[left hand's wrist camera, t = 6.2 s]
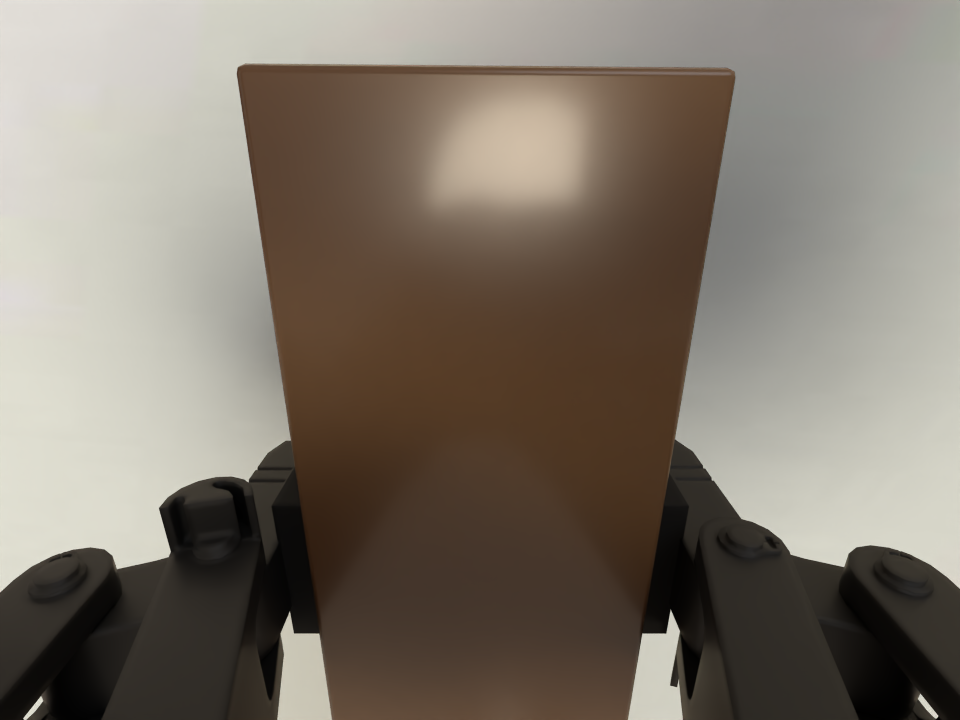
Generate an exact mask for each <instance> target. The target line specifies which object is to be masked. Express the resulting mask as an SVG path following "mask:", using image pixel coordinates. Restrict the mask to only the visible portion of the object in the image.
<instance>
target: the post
mask: <svg viewBox="0 0 960 720" xmlns="http://www.w3.org/2000/svg"><path fill="white" fill-rule="evenodd" d="M237 78H238V85H239V91H240V98H241V105H242V112H243V119H244V125H245V132H246V139H247V146H248V152H249V159H250V166H251V173H252V179H253V186H254V193H255V200H256V207H257V213H258V220H259V227H260V234H261V240H262V247H263V254H264V261H265V268H266V274H267V281H268V288H269V295H270V301H271V308H272V315H273V322H274V329H275V335H276V342H277V349H278V356H279V362H280V369H281V376H282V383H283V389H284V396H285V403H286V410H287V417H288V423H289V430H290V437H291V444H292V450H293V457H294V464H295V471H296V478H297V484H298V491H299V498H300V505H301V511H302V518H303V525H304V532H305V539H306V545H307V552H308V559H309V566H310V572H311V579H312V586H313V593H314V599H315V606H316V613H317V620H318V627H319V633H320V640H321V647H322V654H323V660H324V667H325V674H326V681H327V688H328V694H329V701H330V708H331V715H332V720H628V715H629V709H630V703H631V697H632V691H633V685H634V679H635V673H636V667H637V662H638V656H639V650H640V644H641V638H642V632H643V626H644V620H645V614H646V608H647V602H648V596H649V590H650V584H651V578H652V572H653V566H654V560H655V554H656V548H657V542H658V536H659V530H660V524H661V518H662V512H663V506H664V500H665V494H666V488H667V482H668V477H669V471H670V465H671V459H672V453H673V447H674V441H675V435H676V429H677V423H678V417H679V411H680V405H681V399H682V393H683V387H684V381H685V375H686V369H687V363H688V357H689V351H690V345H691V339H692V333H693V327H694V321H695V315H696V309H697V303H698V297H699V292H700V286H701V280H702V274H703V268H704V262H705V256H706V250H707V244H708V238H709V232H710V226H711V220H712V214H713V208H714V202H715V196H716V190H717V184H718V178H719V172H720V166H721V160H722V154H723V148H724V142H725V136H726V130H727V124H728V118H729V113H730V107H731V101H732V95H733V89H734V83H735V72H734V71H732V70H730V69H728V68H692V67H576V66H461V65H345V64H244V65H242V66H239V67H238V70H237Z"/></svg>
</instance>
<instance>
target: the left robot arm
mask: <svg viewBox="0 0 960 720" xmlns="http://www.w3.org/2000/svg"><path fill="white" fill-rule="evenodd" d="M159 510H160V514H161V517H162V521H163V525H164V528H165V532H166V535H167V539H168V543H169V546H170V550H171V553H170V555H169V557H168V558H164V559H161V560H157V561H153V562H148V563H144V564H139V565H135V566H130V567H126V568H121V569H117V568H116V565H115V562H114V559H113V556H112V555H111V554H109V553H108V552H107V551H106V550H104V549H97V548H84V549H76V550H71V551H68V552H63V553H61V554H57V555H55V556H52V557H50V558H48V559H46V560H44V561H42V562H40V563H38V564H36V565H34V566H32V567H31V568H29V569H28V570H27V571H25V572H24V573H23V574H21V575H20V576H19V577H17V578H16V579H15V580H13V581H12V582H11V583H10V584H9V585H8V586H7V587H6V588H5V589H4V590H3V591H1V592H0V720H24V719H23V718H24V716H25V715H26V714H27V713H28V711H29V710H30V709H31V708H32V706H33V705H34V704H35V703H36V701H37V700H38V699H39V698H40V696H42V698H43V702H42V704H41V705H40V706H39V707H38V709H37V710H36V711H35V712H34V713H33V714H32V715H31V716H30V717H29V718H28V719H27V720H277V716H278V706H279V696H280V686H281V677H282V667H283V657H284V652H283V646H282V640H281V635H280V633H281V631H282V628H283V626H284V624H285V621H286V619H287V616H288V614H289V612H290V613H291V619H292V624H293V630H294V633H319V627H318V620H317V613H316V606H315V599H314V593H313V586H312V579H311V572H310V566H309V559H308V552H307V545H306V539H305V532H304V525H303V518H302V511H301V505H300V498H299V491H298V484H297V478H296V471H295V464H294V457H293V450H292V444H291V441H285V442H284V443H282V444H281V445H279V446H278V447H276V448H275V449H273V450H272V451H270V452H269V453H268V454H267V455H266V457H265V458H264V459H263V461H262V462H261V464H260V465H259V466H258V470H256V471H255V472H254V473H253V475H252V476H251V478H250V479H249V482H246V481H245V480H244V479H239V478H235V477H215V478H210V479H206V480H202V481H198V482H195V483H193V484H191V485H188V486H186V487H183V488H181V489H180V490H178V491H177V492H175V493H174V494H172V495H171V496H169V497H168V498H167V499H166V500H165V501H164V503H163V504H162V505H161V506H160V508H159ZM670 609H671V611H672V613H673V616H674V618H675V620H676V623H677V625H678V627H679V630H680V635H679V640H678V645H677V650H676V655H675V660H674V666H673V671H672V677H671V683H670V686H674V687H677V685H678V680H679V685H680V695H681V705H682V715H683V720H960V589H959V588H958V587H957V586H956V585H955V584H954V583H953V582H952V581H951V580H949V579H948V578H947V577H946V576H945V575H943V574H942V573H940V572H939V571H938V570H936V569H935V568H934V567H932V566H931V565H929V564H927V563H926V562H924V561H922V560H920V559H918V558H916V557H914V556H912V555H910V554H907V553H904V552H902V551H901V552H900V551H898V550H895V549H891V548H886V547H879V546H871V545H870V546H863V547H857V548H855V549H854V550H853V551H852V552H850V553H849V555H848V558H847V561H846V564H845V567H840V566H836V565H831V564H826V563H822V562H817V561H813V560H808V559H804V558H800V557H797V556H793V555H791V554H790V552H789V550H788V549H787V547H786V546H785V545H784V543H783V542H782V540H781V539H779V538H778V537H777V536H776V535H774V534H773V533H772V532H770V531H769V530H768V529H766V528H764V527H762V526H759V525H757V524H755V523H753V522H750V521H746V520H743V519H741V518H740V517H739V515H738V514H737V512H736V511H735V510H734V508H733V507H732V505H731V504H730V503H729V501H728V500H727V499H726V497H725V496H724V494H723V493H722V492H721V490H720V489H719V487H718V486H717V485H716V483H715V482H714V481H712V479H711V476H710V475H709V474H708V472H707V471H706V469H703V465H702V464H701V462H700V461H699V460H698V458H697V457H696V455H695V454H694V453H693V451H691V450H690V449H688V448H687V447H685V446H684V445H682V444H681V443H679V442H678V441H676V440H675V441H674V447H673V453H672V459H671V465H670V471H669V477H668V482H667V488H666V494H665V500H664V506H663V512H662V518H661V524H660V530H659V536H658V542H657V548H656V554H655V560H654V566H653V572H652V578H651V584H650V590H649V596H648V602H647V608H646V614H645V620H644V626H643V632H642V633H666V632H667V626H668V621H669V615H670ZM920 693H921V695H922V696H923V697H924V698H925V700H926V701H927V702H928V703H929V705H930V706H931V707H932V708H933V710H934V711H935V712H936V713H937V715H938V718H937V719H935V718H934V717H933V716H932V715H931V714H930V713H929V712H928V711H927V710H926V709H925V708H924V706H923V705H922V704H921V703H920V701H919V700H918V697H919V695H920Z"/></svg>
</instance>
